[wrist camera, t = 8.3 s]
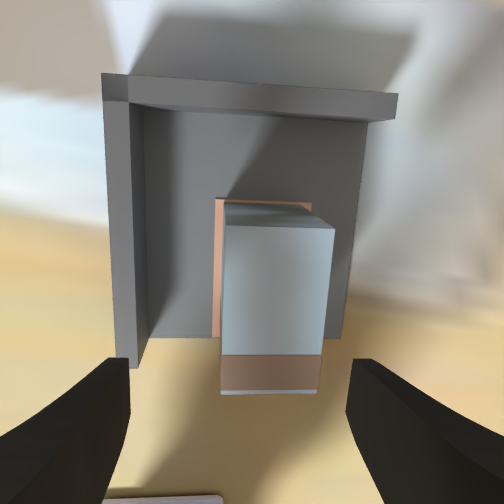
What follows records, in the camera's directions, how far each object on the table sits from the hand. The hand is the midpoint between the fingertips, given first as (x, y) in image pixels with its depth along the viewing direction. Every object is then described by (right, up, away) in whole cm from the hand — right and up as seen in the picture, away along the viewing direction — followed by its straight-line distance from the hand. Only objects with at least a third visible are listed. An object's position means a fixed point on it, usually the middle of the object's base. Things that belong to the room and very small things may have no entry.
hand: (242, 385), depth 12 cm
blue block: (+1, +3, +8) cm, 9 cm away
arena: (0, +6, +8) cm, 10 cm away
